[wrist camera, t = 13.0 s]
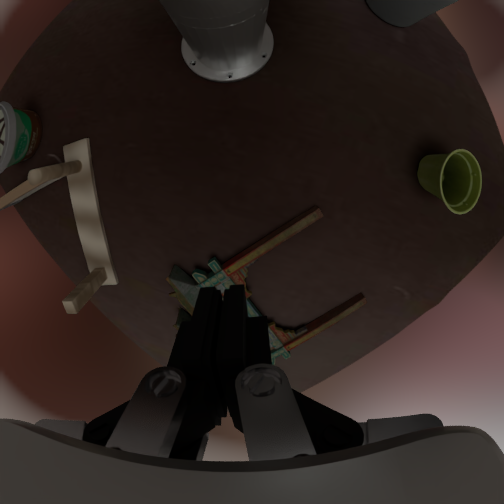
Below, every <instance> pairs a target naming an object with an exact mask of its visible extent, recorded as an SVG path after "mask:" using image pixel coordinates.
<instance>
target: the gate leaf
mask: <svg viewBox="0 0 504 504" xmlns="http://www.w3.org/2000/svg"><path fill="white" fill-rule="evenodd" d="M60 178H62V177H60ZM60 178H56V179H53V180H50V181H46V182H43V183H40V184H37V185H33V186H32V185H30V184H29V182H28V180H27V181H25V182H24V183H22V184H21V185H19V186H17V187H16V188H14V189H13V190H11V191H10V192H9V193H7V194H6V195H4V196H3V197H1V198H0V210H2V209H5V208H7V207H9V206H11V205H14V204H16V203H19V202H20V201H22V199H24V198H25V197H27V196H29V195H30V194H32V193H34V192H36V191H37V190H39V189H41V188H43V187H45V186H47V185H48V184H50V183H52V182H54V181H56V180H58V179H60Z"/></svg>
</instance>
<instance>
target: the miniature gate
mask: <svg viewBox="0 0 504 504" xmlns="http://www.w3.org/2000/svg"><path fill="white" fill-rule="evenodd" d="M321 217H323V214H322V212H321V211H320V209H319V208H318V207H316V206H314V207H313V208H311V209H310V210H308V211H306V212H305V213H303V214H301V215H300V216H298V217H296V218H295V219H293V220H291V221H290V222H288V223H286V224H285V225H283V226H282V227H280V228H278V229H277V230H275V231H273V232H272V233H270V234H269V235H267V236H266V237H264V238H263V239H261V240H259V241H258V242H256V243H255V244H253V245H252V246H250V247H249V248H247V249H245V250H244V251H242V252H241V253H239V254H238V255H236V256H235V257H233V258H232V259H230V260H228V261H227V262H225V263H224V264H222V265H221V264H220V262H219V261H218V260H217V258H216V257H213V258H212V259H210V260H209V261H208V265H209V266H210V268H211V269H212V270H213V271H211V272H210V273H208V274H207V273H206V272H205V271H203V270H200V269H195V270H194V271H193V272H192V276H193V277H194V278H195V280H196V281H194V280H193V279H192V278H191V277H190V276H189V275H187V274H186V273H185V272H184V271H183V270H182V269H180V268H179V267H178V266H176V265H174V267H173V269H172V271H171V273H170V275H169V277H167V278H166V280H167V281H168V282H169V283H170V285H171V286H172V287H173V288H174V290H175V292H172V293H169V296H172V297H175V298H177V299H178V301H179V302H180V303H181V304H182V305H183V307H184V308H185V309H186V310H187V311H188V312H189V313H190V314H191V316H192V314H193V311H194V307H195V304H196V300H197V297H198V294H199V290H200V288H201V287H213V286H215V288H216V290H221V293H222V299H223V296H224V290H225V289H229V287H230V285H239V284H244V286H245V287H246V282H245V278H246V277H247V272H248V268H247V267H249V266H250V265H252V264H253V263H255V262H256V261H257V260H258V258H259V257H260V256H262V255H263V254H265V253H267V252H268V251H270V250H271V249H273V248H274V247H276V246H278V245H279V244H281V243H282V242H284V241H285V240H287V239H289V238H290V237H292V236H293V235H295V234H296V233H298V232H299V231H301V230H303V229H304V228H306V227H307V226H309V225H310V224H312V223H314V222H315V221H317V220H318V219H320V218H321ZM245 294H246V302H247V311H248V317H257V316H262V315H261V314H260V312H259V311H258V310H257V308H256V307H255V306H254V305H253V303H252V302H251V301H250V299H249V298H248V297H249V296H251V295H252V292H251V291H249V290H247V289H246V288H245ZM366 303H367V301H366V299H365V297H364V296H363V295H362V294H361V293H359V294H358V295H356V296H355V297H353V298H351V299H350V300H348V301H346V302H344V303H343V304H341V305H339V306H338V307H336V308H334V309H332V310H331V311H329V312H327V313H325V314H324V315H322V316H320V317H319V318H317V319H315V320H314V321H312V322H311V323H309V324H307V325H305V326H304V327H302V328H300V329H298V330H296V331H294V330H289V329H287V330H285V331H284V330H283V329H282V328H278V327H276V326H275V322H274V321H273V322H271V323H268V331H269V341H270V350H271V359H272V365H275V358H276V357H278V356H280V355H282V356H283V357H284V358H285V359H287V358H288V357H290V356H291V355H290V351H289V350H291V349H293V348H295V347H296V346H298V345H300V344H302V343H303V342H305V341H307V340H309V339H310V338H312V337H314V336H315V335H317V334H319V333H320V332H322V331H324V330H325V329H327V328H329V327H330V326H332V325H334V324H335V323H337V322H338V321H340V320H342V319H343V318H345V317H346V316H348V315H349V314H351V313H352V312H354V311H356V310H357V309H359V308H360V307H362V306H363V305H365V304H366ZM178 309H179V314H178V318H177V321H176V324H175V325H173V327H175V328H176V329H177V330H179V327H180V324H181V322H182V321H191V318H192V317H191V316H190V315H189V314H188V313H186V312H185V311H184V310H183V309H182V308H181V307H180V308H178ZM176 336H177V334H176Z"/></svg>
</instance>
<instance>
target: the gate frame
mask: <svg viewBox="0 0 504 504" xmlns="http://www.w3.org/2000/svg"><path fill="white" fill-rule="evenodd" d="M63 150H64V158H65V163H60V164H55V165H51V166H46V167H42V168H37V169H33V170H31V171H30V172H29V174H28V182H29V184H30V185H32V186H33V185H37V184H40V183H43V182H46V181H50V180H53V179H56V178H60V177H64V176H67V179H68V185H69V191H70V196H71V201H72V206H73V211H74V215H75V220H76V224H77V228H78V232H79V236H80V240H81V244H82V247H83V251H84V254H85V258H86V261H87V264H88V268H89V271H90V274H89V275H88V276H87V277H86V278H85V279H84V280H83V281H82V282H81V283H80V284H79V285H78V286H77V287H76V288H75V289H74V290H73V291H72V292H71V293H70V294H69V295H68V296H67V297H66V298H65V299H64V300H63V301H62V302H63V305H64V307H65V309H66V312H67V314H77V313H78V312H79V311H80V310H81V308H82V307H83V306H84V305H85V304H86V302H87V301H88V300H89V299H90V298H91V297H92V295H93V294H94V293H95V292H96V291H97V290H98V288H99V287H100V286H101V285H115V284H118V283H119V281H118V278H117V274H116V271H115V268H114V264H113V261H112V257H111V253H110V250H109V246H108V242H107V238H106V234H105V229H104V225H103V221H102V216H101V211H100V207H99V201H98V196H97V191H96V185H95V179H94V173H93V166H92V159H91V151H90V142H89V138H85V139H82V140H79V141H77V142H74V143H71V144H68V145H66V146H63Z"/></svg>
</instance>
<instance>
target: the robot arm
mask: <svg viewBox="0 0 504 504" xmlns="http://www.w3.org/2000/svg"><path fill="white" fill-rule="evenodd" d="M159 1H160V2H161V4H162V5H163V7H164V8H165V10H166V11H167V13H168V14H169V16H170V17H171V19H172V21H173V22H174V24H175V25H176V27H177V28H178V30H179V31H180V33H181V34H182V36H183V39H182V45H181V50H182V56H183V58H184V60H185V62H186V64H187V65H188V67H189V68H190V69H191V70H192V71H193V72H194V73H196V74H197V75H198V76H200V77H202V78H204V79H207V80H210V81H214V82H223V83H226V82H235V81H240V80H243V79H246V78H248V77H250V76H252V75H254V74H255V73H257V72H258V71H259V70H261V69H262V68H263V67H264V66H265V64H266V63H267V62H268V60H269V58H270V56H271V54H272V51H273V44H274V40H273V34H272V32H271V29H270V27H269V26H268V25H267V23H266V17H267V11H268V6H269V0H159ZM262 56H265V58H263V57H262ZM194 63H196V64H195V65H194V66H193V64H194ZM229 76H232V78H229ZM227 406H228V410H229V413H230V416H231V417H232V420H233V423H234V426H235V428H237V429H238V430H239V431H241V432H242V433H244V437H245V441H246V447H247V451H248V457H249V461H241V462H240V461H235V462H224V461H202V459H203V456H204V452H205V448H206V445H207V442H208V436H209V433H208V432H209V431H210V430H212V429H213V428H215V425H221V417H226V416H227ZM0 504H504V454H503V452H502V451H501V449H500V448H499V446H498V445H497V444H496V442H495V441H494V440H493V439H492V438H491V437H490V436H489V435H488V434H487V433H486V432H484V431H483V430H481V429H479V428H475V427H470V426H443V424H442V421H441V420H440V419H439V418H438V417H436V416H434V415H432V414H418V415H411V416H403V417H393V418H382V419H368V420H367V422H364V423H363V422H362V423H358V422H356V421H354V420H353V419H351V418H349V417H347V416H345V415H343V414H341V413H339V412H337V411H334V410H332V409H330V408H328V407H326V406H324V405H322V404H320V403H318V402H316V401H314V400H312V399H311V398H309V397H307V396H305V395H303V394H301V393H299V392H297V391H295V390H294V389H292V388H291V386H290V383H289V381H288V378H287V376H286V374H285V373H284V371H283V370H281V369H280V368H279V367H277V366H274V365H272V359H271V350H270V341H269V331H268V322H267V316H257V317H248V311H247V302H246V294H245V286H244V284H239V285H230V287H229V289H225V290H224V296H223V299H222V293H221V290H216V288H215V286H213V287H201V288H200V290H199V294H198V297H197V300H196V304H195V307H194V311H193V314H192V318H191V321H182V322H181V324H180V327H179V330H178V333H177V336H176V339H175V343H174V346H173V349H172V352H171V355H170V359H169V362H168V365H167V367H165V366H164V367H159V368H156V369H153V370H151V371H150V372H148V373H147V374H146V375H145V376H144V378H143V379H142V380H141V382H140V384H139V385H138V388H137V389H136V391H135V393H134V394H133V396H132V398H131V400H129V401H127V402H125V403H124V404H122V405H120V406H118V407H116V408H114V409H112V410H111V411H109V412H107V413H105V414H103V415H101V416H99V417H97V418H95V419H94V420H92V421H91V422H89V423H88V424H87V423H86V422H85V421H68V420H51V419H50V420H49V419H43V420H40V421H38V422H37V423H36V424H35V425H34V424H31V423H28V422H24V421H20V420H13V419H0Z"/></svg>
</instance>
